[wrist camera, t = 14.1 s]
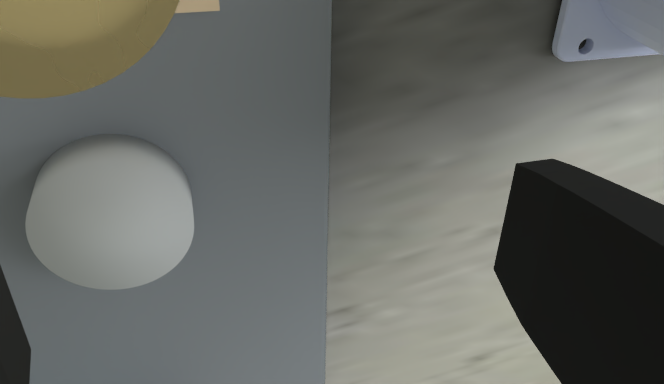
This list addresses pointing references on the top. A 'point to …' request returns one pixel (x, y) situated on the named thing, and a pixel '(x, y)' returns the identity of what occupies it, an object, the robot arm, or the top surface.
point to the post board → (238, 216)
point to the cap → (74, 42)
